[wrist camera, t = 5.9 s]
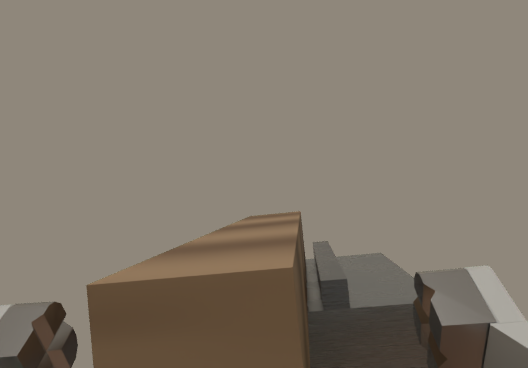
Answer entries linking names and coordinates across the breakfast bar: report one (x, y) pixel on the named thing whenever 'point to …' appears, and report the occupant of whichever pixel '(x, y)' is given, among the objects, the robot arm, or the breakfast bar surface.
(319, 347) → the control unit
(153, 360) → the walnut bar
